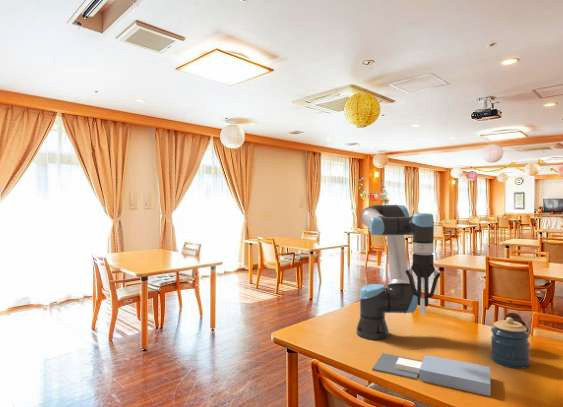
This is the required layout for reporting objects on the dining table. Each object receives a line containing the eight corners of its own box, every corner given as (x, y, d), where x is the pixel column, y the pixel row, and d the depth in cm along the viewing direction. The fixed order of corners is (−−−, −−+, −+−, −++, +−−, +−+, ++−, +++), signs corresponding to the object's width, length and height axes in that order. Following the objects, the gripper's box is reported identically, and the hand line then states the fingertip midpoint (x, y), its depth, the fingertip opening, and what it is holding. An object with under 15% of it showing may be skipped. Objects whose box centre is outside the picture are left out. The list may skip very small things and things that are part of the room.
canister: (490, 364, 142) (490, 319, 142) (491, 352, 153) (491, 310, 153) (530, 372, 135) (530, 324, 135) (528, 359, 146) (528, 315, 146)
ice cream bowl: (492, 343, 162) (492, 310, 162) (516, 342, 163) (516, 309, 163) (509, 353, 151) (509, 318, 151) (534, 352, 152) (534, 317, 152)
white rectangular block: (395, 368, 138) (395, 363, 137) (399, 362, 143) (399, 357, 143) (420, 374, 133) (420, 368, 133) (423, 367, 138) (423, 362, 138)
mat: (372, 369, 138) (372, 368, 138) (382, 354, 152) (382, 352, 152) (416, 379, 130) (416, 378, 130) (423, 362, 144) (423, 360, 144)
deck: (419, 380, 130) (419, 369, 130) (425, 364, 142) (425, 354, 142) (490, 396, 119) (490, 384, 119) (490, 377, 131) (490, 366, 131)
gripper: (403, 253, 140) (403, 314, 141) (440, 256, 133) (439, 319, 134) (407, 250, 146) (407, 308, 147) (442, 253, 140) (442, 313, 140)
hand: (422, 313), depth 141 cm, fingers closed
